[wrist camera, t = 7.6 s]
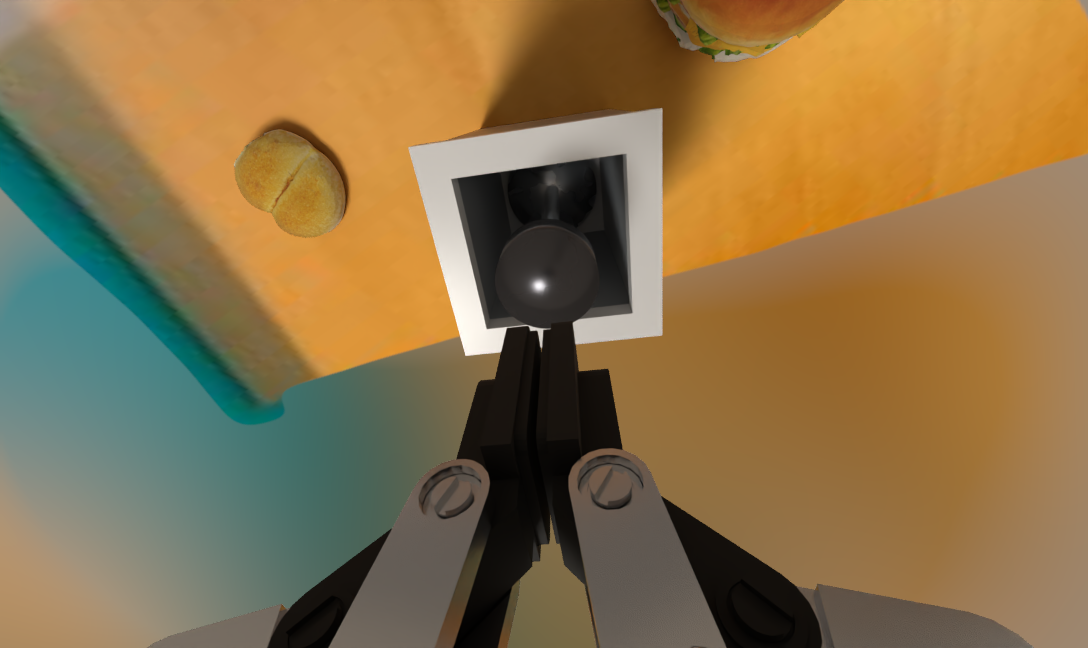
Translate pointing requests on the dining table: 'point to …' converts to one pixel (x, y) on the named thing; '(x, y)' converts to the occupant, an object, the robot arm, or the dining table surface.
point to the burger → (740, 24)
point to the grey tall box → (488, 221)
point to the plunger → (549, 245)
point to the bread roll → (291, 183)
